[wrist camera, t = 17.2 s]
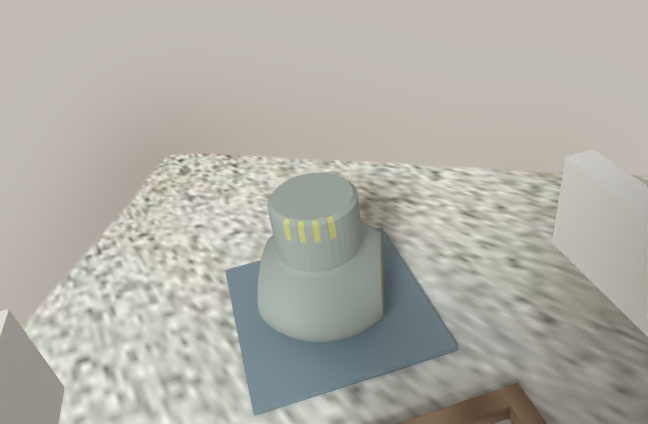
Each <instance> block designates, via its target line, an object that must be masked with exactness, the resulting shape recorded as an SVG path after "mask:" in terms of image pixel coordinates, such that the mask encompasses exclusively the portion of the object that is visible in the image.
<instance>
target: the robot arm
mask: <svg viewBox="0 0 648 424" xmlns="http://www.w3.org/2000/svg"><path fill="white" fill-rule="evenodd" d="M552 243H553V244H554V245H555V246H556V247H557V248H558V249H559V250H560V251H561V252H562V253H563V254H564V255H565V256H566V257H567V258H568V259H569V260H570V261H571V262H572V263H573V264H574V265H575V266H576V267H577V268H578V269H579V270H580V271H581V272H582V273H583V274H584V275H585V276H586V277H587V278H588V279H589V280H590V281H591V282H592V283H593V284H594V285H595V286H596V287H597V288H598V289H599V290H600V291H601V292H602V293H603V294H604V295H605V296H606V297H607V298H609V299H610V300H611V301H612V302H613V303H614V304H615V305H616V306H617V307H618V308H619V309H620V310H621V311H622V312H623V313H624V314H625V315H626V316H627V317H628V318H629V319H630V320H631V321H632V322H633V323H634V324H635V325H636V326H637V327H638V328H639V329H640V330H641V331H642V332H643V333H644V334H645V335H646V336H647V337H648V186H647V185H646V184H644V183H643V182H641V181H640V180H638V179H637V178H635V177H634V176H632V175H631V174H629V173H628V172H626V171H625V170H623V169H622V168H620V167H619V166H618V165H616V164H615V163H613V162H612V161H610V160H609V159H607V158H606V157H604V156H603V155H601V154H600V153H598V152H597V151H595V150H594V149H592V150H588V151H585V152H581V153H578V154H574V155H570V156H566V157H565V163H564V169H563V175H562V182H561V188H560V194H559V201H558V207H557V213H556V220H555V226H554V232H553V239H552ZM63 393H64V386H63V385H62V383H61V382H60V380H59V379H58V378H57V376H56V375H55V373H54V372H53V371H52V369H51V368H50V366H49V365H48V364H47V362H46V361H45V359H44V358H43V356H42V355H41V354H40V352H39V351H38V349H37V348H36V347H35V345H34V344H33V342H32V341H31V340H30V338H29V337H28V335H27V334H26V333H25V331H24V330H23V328H22V327H21V326H20V324H19V323H18V321H17V320H16V319H15V317H14V316H13V314H12V313H11V312H10V310H9V309H8V310H4V311H0V424H58V423H59V417H60V411H61V405H62V399H63Z"/></svg>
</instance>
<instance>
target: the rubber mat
mask: <svg viewBox="0 0 648 424" xmlns="http://www.w3.org/2000/svg"><path fill="white" fill-rule="evenodd" d="M376 230H378V231H379V232H380V233H381V237H382V255H383V289H384V314H383V317H382V318H381V319H380V320H379V321H378V322H377V323H375V324H374V325H373V326H372V327H370V328H368V329H367V330H365V331H363V332H362V333H359V334H357V335H355V336H352V337H349V338H346V339H342V340H338V341H331V342H309V341H302V340H298V339H294V338H291V337H289V336H286V335H284V334H282V333H280V332H278V331H277V330H275V329H274V328H272V327H271V326H269V325H268V324H267V323H266V322H265V321H264V320H263V319H262V318H261V316H260V313H259V308H258V278H259V269H260V264H261V261H257V262H254V263H250V264H246V265H243V266H239V267H235V268H232V269H228V270H225V272H226V277H227V282H228V287H229V292H230V297H231V302H232V307H233V312H234V317H235V322H236V327H237V332H238V337H239V342H240V347H241V352H242V357H243V363H244V368H245V373H246V378H247V383H248V388H249V393H250V398H251V403H252V408H253V412H254V415H258V414H261V413H264V412H267V411H270V410H273V409H276V408H280V407H283V406H286V405H289V404H292V403H295V402H298V401H301V400H304V399H308V398H311V397H314V396H317V395H320V394H323V393H326V392H329V391H332V390H335V389H339V388H342V387H345V386H348V385H351V384H354V383H357V382H360V381H363V380H367V379H370V378H373V377H376V376H379V375H382V374H385V373H388V372H391V371H395V370H398V369H401V368H404V367H407V366H410V365H413V364H416V363H419V362H423V361H426V360H429V359H432V358H435V357H438V356H441V355H444V354H447V353H450V352H454V351H457V344H456V343H455V341H454V339H453V338H452V336H451V335H450V333H449V332H448V330H447V328H446V327H445V325H444V324H443V322H442V321H441V319H440V318H439V316H438V314H437V313H436V311H435V310H434V308H433V307H432V305H431V304H430V302H429V300H428V299H427V297H426V296H425V294H424V293H423V291H422V289H421V288H420V286H419V285H418V283H417V282H416V280H415V279H414V277H413V275H412V274H411V272H410V271H409V269H408V268H407V266H406V264H405V263H404V261H403V260H402V258H401V257H400V255H399V254H398V252H397V250H396V249H395V247H394V246H393V244H392V243H391V241H390V239H389V238H388V236H387V235H386V233H385V232H384V230H383V229H382V227H381V228H377V229H376Z"/></svg>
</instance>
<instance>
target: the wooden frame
mask: <svg viewBox="0 0 648 424" xmlns="http://www.w3.org/2000/svg"><path fill="white" fill-rule="evenodd" d="M506 418H510V420H511V421H512V423H513V424H547V423H546V422H545V421H544V419H543V418H542V416H541V415H540V414H539V412H538V411H537V409H536V408H535V406H534V405H533V404H532V402H531V401H530V399H529V398H528V397H527V395H526V394H525V392H524V391H523V390H522V388H521V387H520V385H519V384H518V383H516V384H513V385H510V386H507V387H504V388H501V389H498V390H495V391H492V392H489V393H486V394H483V395H480V396H477V397H475V398H472V399H469V400H466V401H463V402H460V403H457V404H454V405H451V406H448V407H445V408H442V409H439V410H436V411H433V412H430V413H427V414H424V415H421V416H419V417H416V418H413V419H410V420H407V421H404V422H401V423H398V424H492V423H495V422H498V421H501V420H504V419H506Z"/></svg>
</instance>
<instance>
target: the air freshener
mask: <svg viewBox="0 0 648 424" xmlns="http://www.w3.org/2000/svg"><path fill="white" fill-rule="evenodd" d="M268 211H269V216H270V221H271V226H272V231H273V236H272V237H270V238H269V239H268V241H267V243H266V245H265V248H264V251H263V254H262V259H261V264H260V269H259V278H258V308H259V313H260V316H261V318H262V319H263V320H264V321H265V322H266V323H267V324H268V325H269V326H271V327H272V328H274V329H275V330H277V331H278V332H280V333H282V334H284V335H286V336H289V337H291V338H294V339H298V340H302V341H309V342H331V341H338V340H342V339H346V338H349V337H352V336H355V335H357V334H359V333H362V332H363V331H365V330H367V329H368V328H370V327H372V326H373V325H374V324H375V323H377V322H378V321H379V320H380V319H381V318H382V317H383V314H384V289H383V255H382V237H381V233H380V232H379V231H378V230H376V229H375V228H373V227H372V226H370V225H368V224H366V223H364V222H361V221H360V213H359V204H358V195H357V190H356V188H355V187H354V185H353V184H351V183H350V182H349V181H347V180H346V179H344V178H342V177H340V176H337V175H334V174H329V173H309V174H304V175H300V176H297V177H294V178H291V179H289V180H287V181H286V182H284V183H282V184H281V185H280V186H279V187H278V188H277V189H276V190H275V191H274V192H273V193H272V194H271V196H270V198H269V200H268Z"/></svg>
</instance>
